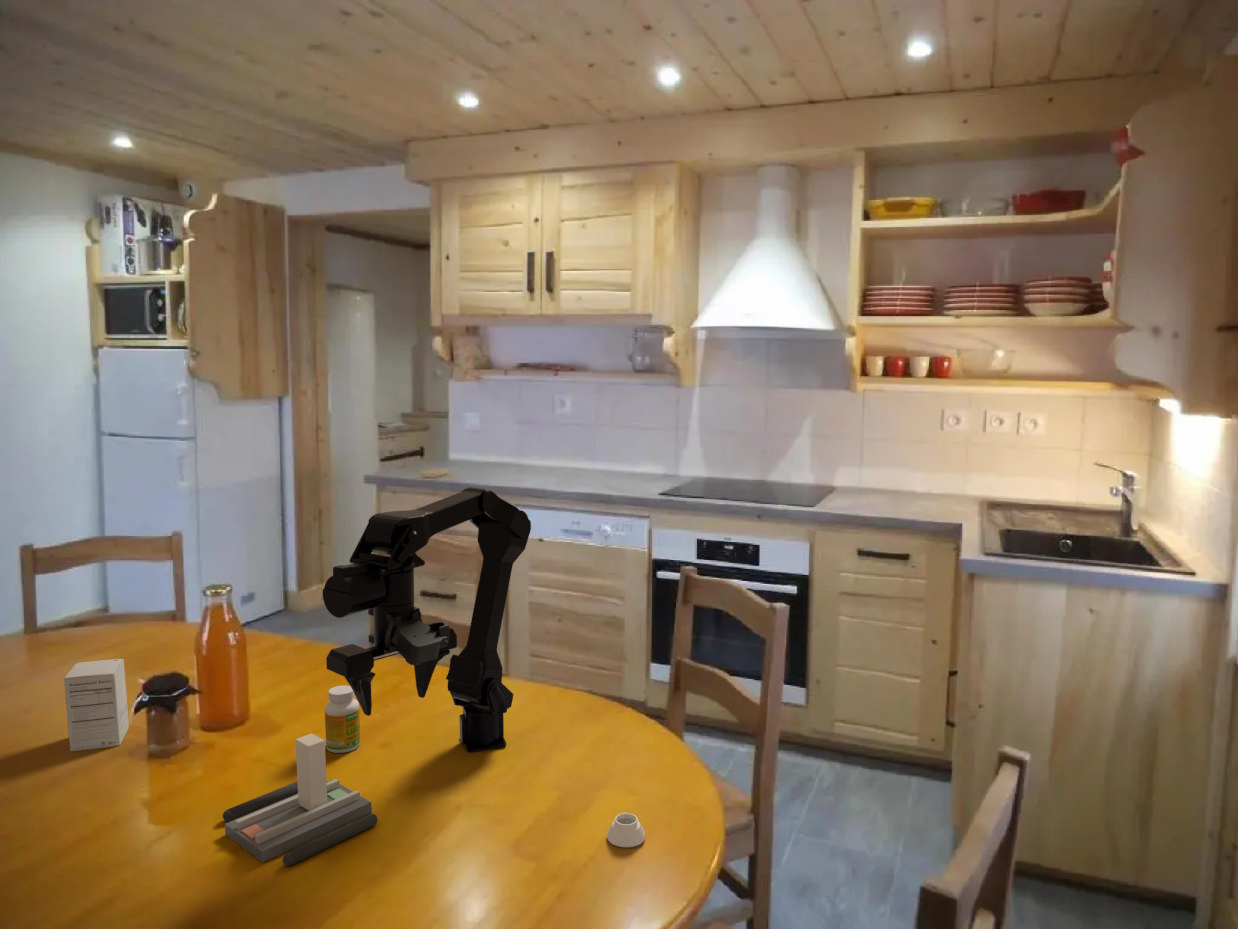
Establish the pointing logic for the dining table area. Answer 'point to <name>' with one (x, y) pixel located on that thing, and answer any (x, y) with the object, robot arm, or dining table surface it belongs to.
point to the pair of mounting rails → (312, 846)
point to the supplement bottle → (342, 720)
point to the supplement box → (96, 704)
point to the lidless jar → (626, 831)
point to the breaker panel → (295, 822)
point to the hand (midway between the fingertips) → (395, 705)
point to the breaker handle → (311, 771)
